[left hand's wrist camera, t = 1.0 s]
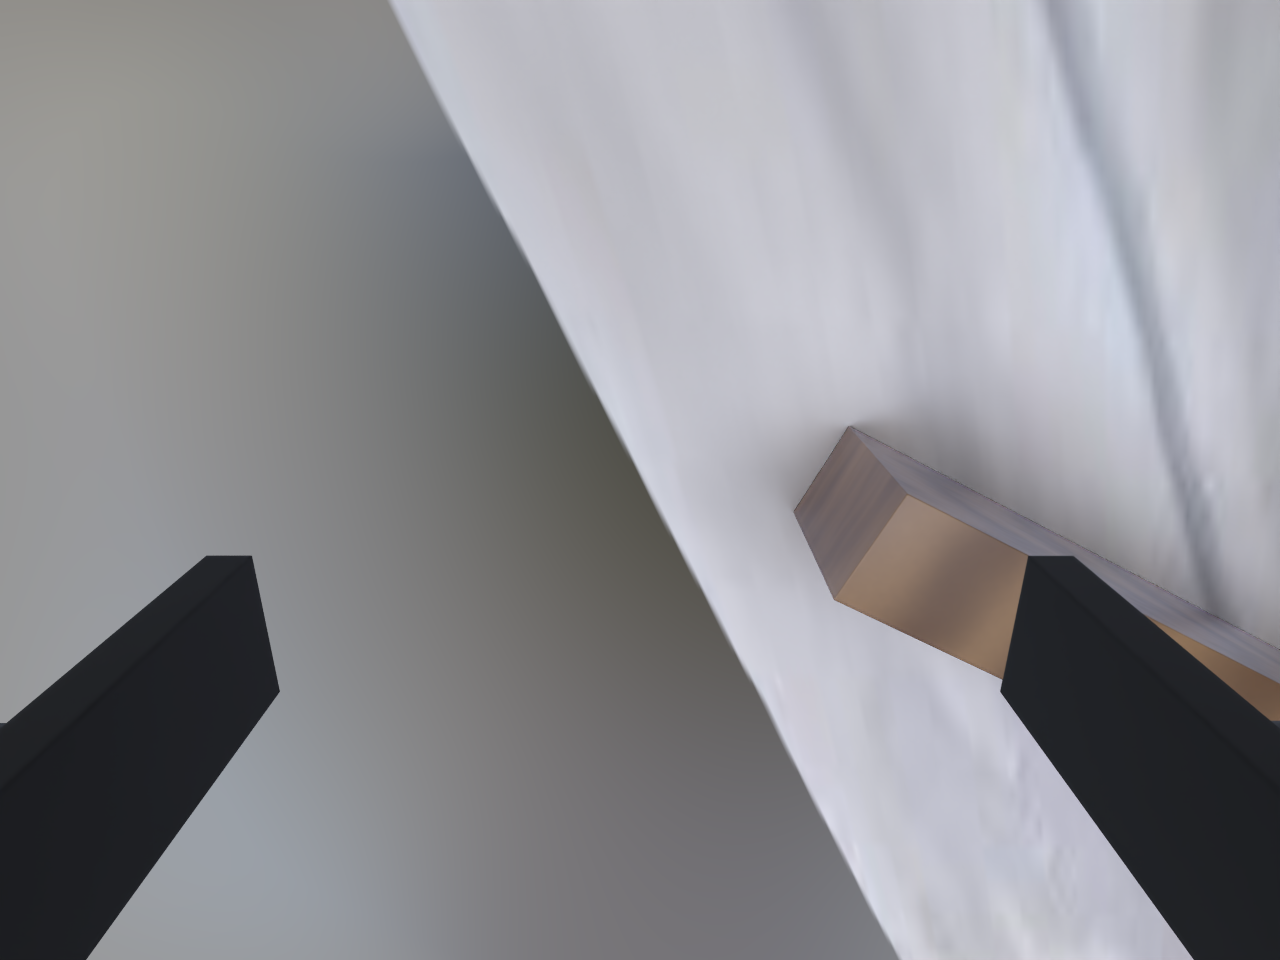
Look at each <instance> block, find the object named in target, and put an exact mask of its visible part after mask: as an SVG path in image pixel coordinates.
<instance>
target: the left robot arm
mask: <svg viewBox="0 0 1280 960" xmlns="http://www.w3.org/2000/svg"><path fill="white" fill-rule="evenodd" d="M279 692H280V690H279V686H278V681H277V676H276V671H275V666H274V661H273V656H272V651H271V647H270V642H269V637H268V632H267V627H266V622H265V617H264V613H263V608H262V603H261V598H260V593H259V588H258V583H257V579H256V574H255V569H254V564H253V559H252V556H206V557H204V558H203V559H202V560H201V561H200V562H199V563H197V564H196V565H195V566H194V567H193V568H191V569H190V570H189V571H188V572H187V573H185V574H184V575H183V576H182V577H181V578H179V579H178V580H177V581H176V582H175V583H173V584H172V585H171V586H170V587H169V588H167V589H166V590H165V591H164V592H163V593H161V594H160V595H159V596H158V597H157V598H155V599H154V600H153V601H152V602H151V603H150V604H148V605H147V606H146V607H145V608H143V609H142V610H141V611H140V612H139V613H137V614H136V615H135V616H134V617H133V618H132V619H130V620H129V621H128V622H127V623H126V624H124V625H123V626H122V627H121V628H120V629H118V630H117V631H116V632H115V633H114V634H112V635H111V636H110V637H109V638H108V639H106V640H105V641H104V642H103V643H102V644H100V645H99V646H98V647H97V648H96V649H94V650H93V651H92V652H91V653H90V654H89V655H87V656H86V657H85V658H84V659H83V660H81V661H80V662H79V663H78V664H77V665H75V666H74V667H73V668H72V669H71V670H69V671H68V672H67V673H66V674H65V675H63V676H62V677H61V678H60V679H59V680H57V681H56V682H55V683H54V684H53V685H51V686H50V687H49V688H48V689H47V690H45V691H44V692H43V693H42V694H41V695H40V696H38V697H37V698H36V699H35V700H34V701H32V702H31V703H30V704H29V705H28V706H26V707H25V708H24V709H23V710H22V711H20V712H19V713H18V714H17V715H16V716H14V717H13V718H12V719H11V720H10V721H8V722H7V723H0V960H86V959H87V958H88V956H89V955H90V954H91V952H92V951H93V949H94V948H95V947H96V945H97V944H98V942H99V941H100V940H101V938H102V937H103V936H104V934H105V933H106V931H107V930H108V929H109V927H110V926H111V925H112V923H113V922H114V920H115V919H116V918H117V916H118V915H119V913H120V912H121V911H122V909H123V908H124V907H125V905H126V904H127V902H128V901H129V900H130V898H131V897H132V895H133V894H134V893H135V891H136V890H137V889H138V887H139V886H140V884H141V883H142V882H143V880H144V879H145V877H146V876H147V875H148V873H149V872H150V871H151V869H152V868H153V866H154V865H155V864H156V862H157V861H158V859H159V858H160V857H161V855H162V854H163V853H164V851H165V850H166V848H167V847H168V845H169V844H170V843H171V841H172V840H173V839H174V837H175V836H176V834H177V833H178V832H179V830H180V829H181V828H182V826H183V825H184V824H185V822H186V821H187V819H188V818H189V817H190V815H191V814H192V812H193V811H194V810H195V808H196V807H197V805H198V804H199V803H200V801H201V800H202V799H203V797H204V796H205V794H206V793H207V792H208V790H209V789H210V788H211V786H212V785H213V783H214V782H215V781H216V779H217V778H218V776H219V775H220V774H221V772H222V771H223V770H224V768H225V767H226V765H227V764H228V763H229V761H230V760H231V758H232V757H233V756H234V754H235V753H236V752H237V750H238V749H239V747H240V746H241V745H242V743H243V742H244V740H245V739H246V738H247V736H248V735H249V734H250V732H251V731H252V729H253V728H254V727H255V725H256V724H257V722H258V721H259V720H260V718H261V717H262V716H263V714H264V713H265V711H266V710H267V709H268V707H269V706H270V704H271V703H272V702H273V700H274V699H275V698H276V696H277V695H278V693H279ZM1000 692H1001V693H1002V695H1003V696H1004V698H1005V699H1006V700H1007V702H1008V703H1009V704H1010V706H1011V707H1012V709H1013V710H1014V711H1015V713H1016V714H1017V716H1018V717H1019V718H1020V720H1021V721H1022V722H1023V724H1024V725H1025V727H1026V728H1027V729H1028V731H1029V732H1030V734H1031V735H1032V736H1033V738H1034V739H1035V740H1036V742H1037V743H1038V745H1039V746H1040V747H1041V749H1042V750H1043V752H1044V753H1045V754H1046V756H1047V757H1048V758H1049V760H1050V761H1051V763H1052V764H1053V765H1054V767H1055V768H1056V770H1057V771H1058V772H1059V774H1060V775H1061V776H1062V778H1063V779H1064V781H1065V782H1066V783H1067V785H1068V786H1069V788H1070V789H1071V790H1072V792H1073V793H1074V794H1075V796H1076V797H1077V799H1078V800H1079V801H1080V803H1081V804H1082V806H1083V807H1084V808H1085V810H1086V811H1087V812H1088V814H1089V815H1090V817H1091V818H1092V819H1093V821H1094V822H1095V824H1096V825H1097V826H1098V828H1099V829H1100V830H1101V832H1102V833H1103V835H1104V836H1105V837H1106V839H1107V840H1108V841H1109V843H1110V844H1111V846H1112V847H1113V848H1114V850H1115V851H1116V853H1117V854H1118V855H1119V857H1120V858H1121V859H1122V861H1123V862H1124V864H1125V865H1126V866H1127V868H1128V869H1129V871H1130V872H1131V873H1132V875H1133V876H1134V877H1135V879H1136V880H1137V882H1138V883H1139V884H1140V886H1141V887H1142V889H1143V890H1144V891H1145V893H1146V894H1147V895H1148V897H1149V898H1150V900H1151V901H1152V902H1153V904H1154V905H1155V907H1156V908H1157V909H1158V911H1159V912H1160V913H1161V915H1162V916H1163V918H1164V919H1165V920H1166V922H1167V923H1168V925H1169V926H1170V927H1171V929H1172V930H1173V931H1174V933H1175V934H1176V936H1177V937H1178V938H1179V940H1180V941H1181V943H1182V944H1183V945H1184V947H1185V948H1186V949H1187V951H1188V952H1189V954H1190V955H1191V956H1192V958H1193V959H1194V960H1280V721H1270V720H1269V719H1268V718H1267V717H1266V716H1264V715H1263V714H1262V713H1261V712H1260V711H1258V710H1257V709H1256V708H1255V707H1254V706H1252V705H1251V704H1250V703H1249V702H1248V701H1246V700H1245V699H1244V698H1243V697H1242V696H1241V695H1239V694H1238V693H1237V692H1236V691H1235V690H1233V689H1232V688H1231V687H1230V686H1229V685H1227V684H1226V683H1225V682H1224V681H1223V680H1221V679H1220V678H1219V677H1218V676H1217V675H1215V674H1214V673H1213V672H1212V671H1211V670H1209V669H1208V668H1207V667H1206V666H1205V665H1203V664H1202V663H1201V662H1200V661H1199V660H1197V659H1196V658H1195V657H1194V656H1193V655H1192V654H1190V653H1189V652H1188V651H1187V650H1186V649H1184V648H1183V647H1182V646H1181V645H1180V644H1178V643H1177V642H1176V641H1175V640H1174V639H1172V638H1171V637H1170V636H1169V635H1168V634H1166V633H1165V632H1164V631H1163V630H1162V629H1160V628H1159V627H1158V626H1157V625H1156V624H1154V623H1153V622H1152V621H1151V620H1150V619H1148V618H1147V617H1146V616H1145V615H1144V614H1143V613H1141V612H1140V611H1139V610H1138V609H1137V608H1135V607H1134V606H1133V605H1132V604H1131V603H1129V602H1128V601H1127V600H1126V599H1125V598H1123V597H1122V596H1121V595H1120V594H1119V593H1117V592H1116V591H1115V590H1114V589H1113V588H1111V587H1110V586H1109V585H1108V584H1107V583H1105V582H1104V581H1103V580H1102V579H1101V578H1099V577H1098V576H1097V575H1096V574H1095V573H1094V572H1092V571H1091V570H1090V569H1089V568H1088V567H1086V566H1085V565H1084V564H1083V563H1082V562H1080V561H1079V560H1078V559H1077V558H1076V557H1074V556H1028V559H1027V564H1026V569H1025V574H1024V578H1023V583H1022V588H1021V593H1020V598H1019V603H1018V608H1017V613H1016V617H1015V622H1014V627H1013V632H1012V637H1011V642H1010V647H1009V651H1008V656H1007V661H1006V666H1005V671H1004V676H1003V681H1002V686H1001V690H1000Z"/></svg>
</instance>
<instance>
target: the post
mask: <svg viewBox="0 0 1280 960" xmlns="http://www.w3.org/2000/svg"><path fill="white" fill-rule="evenodd" d="M794 514H795V516H796V519H797V521H798V523H799V525H800V527H801V529H802V532H803V534H804V536H805V538H806V540H807V542H808V545H809V547H810V549H811V551H812V553H813V555H814V557H815V560H816V562H817V564H818V566H819V568H820V570H821V573H822V575H823V577H824V579H825V581H826V583H827V586H828V588H829V590H830V592H831V594H832V596H833V599H834V600H836V601H838V602H840V603H842V604H844V605H846V606H848V607H850V608H853V609H855V610H857V611H859V612H861V613H863V614H865V615H867V616H869V617H872V618H874V619H876V620H878V621H880V622H882V623H884V624H886V625H888V626H891V627H893V628H895V629H897V630H899V631H901V632H903V633H905V634H907V635H910V636H912V637H914V638H916V639H918V640H920V641H922V642H924V643H926V644H929V645H931V646H933V647H935V648H937V649H939V650H941V651H943V652H945V653H948V654H950V655H952V656H954V657H956V658H958V659H960V660H962V661H964V662H967V663H969V664H971V665H973V666H975V667H977V668H979V669H981V670H983V671H986V672H988V673H990V674H992V675H994V676H996V677H998V678H1000V679H1002V680H1003V676H1004V671H1005V666H1006V661H1007V656H1008V651H1009V647H1010V642H1011V637H1012V632H1013V627H1014V622H1015V617H1016V613H1017V608H1018V603H1019V598H1020V593H1021V588H1022V583H1023V578H1024V574H1025V569H1026V564H1027V559H1028V556H1074V557H1076V558H1077V559H1078V560H1079V561H1080V562H1082V563H1083V564H1084V565H1085V566H1086V567H1088V568H1089V569H1090V570H1091V571H1092V572H1094V573H1095V574H1096V575H1097V576H1098V577H1099V578H1101V579H1102V580H1103V581H1104V582H1105V583H1107V584H1108V585H1109V586H1110V587H1111V588H1113V589H1114V590H1115V591H1116V592H1117V593H1119V594H1120V595H1121V596H1122V597H1123V598H1125V599H1126V600H1127V601H1128V602H1129V603H1131V604H1132V605H1133V606H1134V607H1135V608H1137V609H1138V610H1139V611H1140V612H1141V613H1143V614H1144V615H1145V616H1146V617H1147V618H1148V619H1150V620H1151V621H1152V622H1153V623H1154V624H1156V625H1157V626H1158V627H1159V628H1160V629H1162V630H1163V631H1164V632H1165V633H1166V634H1168V635H1169V636H1170V637H1171V638H1172V639H1174V640H1175V641H1176V642H1177V643H1178V644H1180V645H1181V646H1182V647H1183V648H1184V649H1186V650H1187V651H1188V652H1189V653H1190V654H1192V655H1193V656H1194V657H1195V658H1196V659H1197V660H1199V661H1200V662H1201V663H1202V664H1203V665H1205V666H1206V667H1207V668H1208V669H1209V670H1211V671H1212V672H1213V673H1214V674H1215V675H1217V676H1218V677H1219V678H1220V679H1221V680H1223V681H1224V682H1225V683H1226V684H1227V685H1229V686H1230V687H1231V688H1232V689H1233V690H1235V691H1236V692H1237V693H1238V694H1239V695H1241V696H1242V697H1243V698H1244V699H1245V700H1246V701H1248V702H1249V703H1250V704H1251V705H1252V706H1254V707H1255V708H1256V709H1257V710H1258V711H1260V712H1261V713H1262V714H1263V715H1264V716H1266V717H1267V718H1268V719H1269V720H1270V721H1280V650H1279V649H1277V648H1275V647H1273V646H1272V645H1270V644H1268V643H1266V642H1264V641H1262V640H1260V639H1258V638H1256V637H1254V636H1252V635H1250V634H1248V633H1247V632H1245V631H1243V630H1241V629H1239V628H1237V627H1235V626H1233V625H1231V624H1229V623H1227V622H1225V621H1223V620H1221V619H1220V618H1218V617H1216V616H1214V615H1212V614H1210V613H1208V612H1206V611H1204V610H1202V609H1200V608H1198V607H1196V606H1195V605H1193V604H1191V603H1189V602H1187V601H1185V600H1183V599H1181V598H1179V597H1177V596H1175V595H1173V594H1171V593H1170V592H1168V591H1166V590H1164V589H1162V588H1160V587H1158V586H1156V585H1154V584H1152V583H1150V582H1148V581H1146V580H1145V579H1143V578H1141V577H1139V576H1137V575H1135V574H1133V573H1131V572H1129V571H1127V570H1125V569H1123V568H1121V567H1120V566H1118V565H1116V564H1114V563H1112V562H1110V561H1108V560H1106V559H1104V558H1102V557H1100V556H1098V555H1096V554H1094V553H1093V552H1091V551H1089V550H1087V549H1085V548H1083V547H1081V546H1079V545H1077V544H1075V543H1073V542H1071V541H1069V540H1068V539H1066V538H1064V537H1062V536H1060V535H1058V534H1056V533H1054V532H1052V531H1050V530H1048V529H1046V528H1044V527H1043V526H1041V525H1039V524H1037V523H1035V522H1033V521H1031V520H1029V519H1027V518H1025V517H1023V516H1021V515H1019V514H1018V513H1016V512H1014V511H1012V510H1010V509H1008V508H1006V507H1004V506H1002V505H1000V504H998V503H996V502H994V501H993V500H991V499H989V498H987V497H985V496H983V495H981V494H979V493H977V492H975V491H973V490H971V489H969V488H968V487H966V486H964V485H962V484H960V483H958V482H956V481H954V480H952V479H950V478H948V477H946V476H944V475H942V474H941V473H939V472H937V471H935V470H933V469H931V468H929V467H927V466H925V465H923V464H921V463H919V462H917V461H916V460H914V459H912V458H910V457H908V456H906V455H904V454H902V453H900V452H898V451H896V450H894V449H892V448H891V447H889V446H887V445H885V444H883V443H881V442H879V441H877V440H875V439H873V438H871V437H869V436H867V435H866V434H864V433H862V432H860V431H858V430H856V429H854V428H852V427H850V426H849V427H848V428H847V430H846V431H845V433H844V435H843V436H842V438H841V439H840V441H839V442H838V444H837V445H836V447H835V449H834V450H833V452H832V453H831V455H830V456H829V458H828V459H827V461H826V463H825V464H824V466H823V467H822V469H821V470H820V472H819V473H818V475H817V477H816V478H815V480H814V481H813V483H812V484H811V486H810V488H809V489H808V491H807V492H806V494H805V495H804V497H803V498H802V500H801V502H800V503H799V505H798V506H797V508H796V509H795V511H794Z"/></svg>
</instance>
